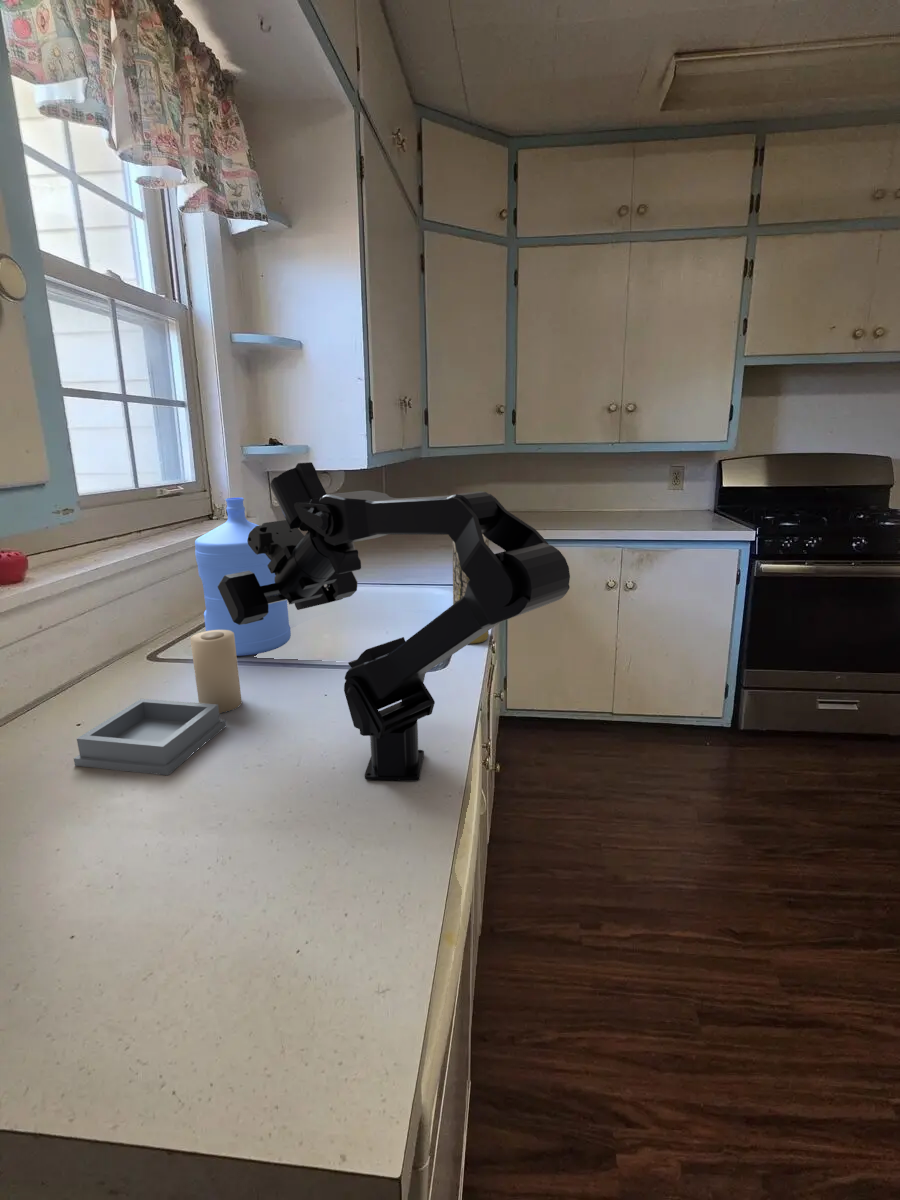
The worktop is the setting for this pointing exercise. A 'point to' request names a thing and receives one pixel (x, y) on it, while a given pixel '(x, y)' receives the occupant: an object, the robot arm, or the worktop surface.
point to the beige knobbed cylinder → (216, 669)
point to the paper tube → (462, 583)
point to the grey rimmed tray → (149, 736)
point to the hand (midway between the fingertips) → (269, 613)
